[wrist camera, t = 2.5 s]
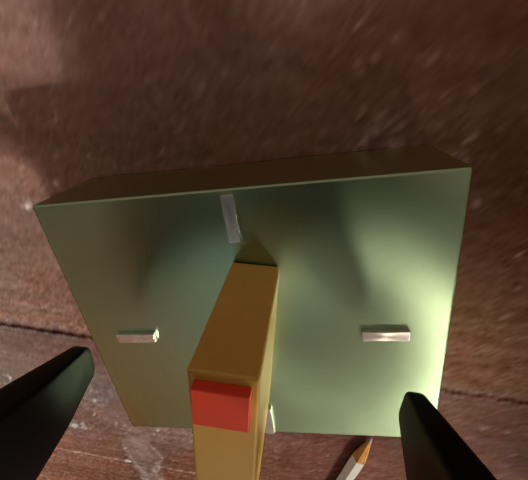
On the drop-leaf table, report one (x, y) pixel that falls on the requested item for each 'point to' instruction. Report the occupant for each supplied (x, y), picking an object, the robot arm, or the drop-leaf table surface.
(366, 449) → the pencil
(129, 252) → the valve panel
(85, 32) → the drop-leaf table surface
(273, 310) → the tap handle
